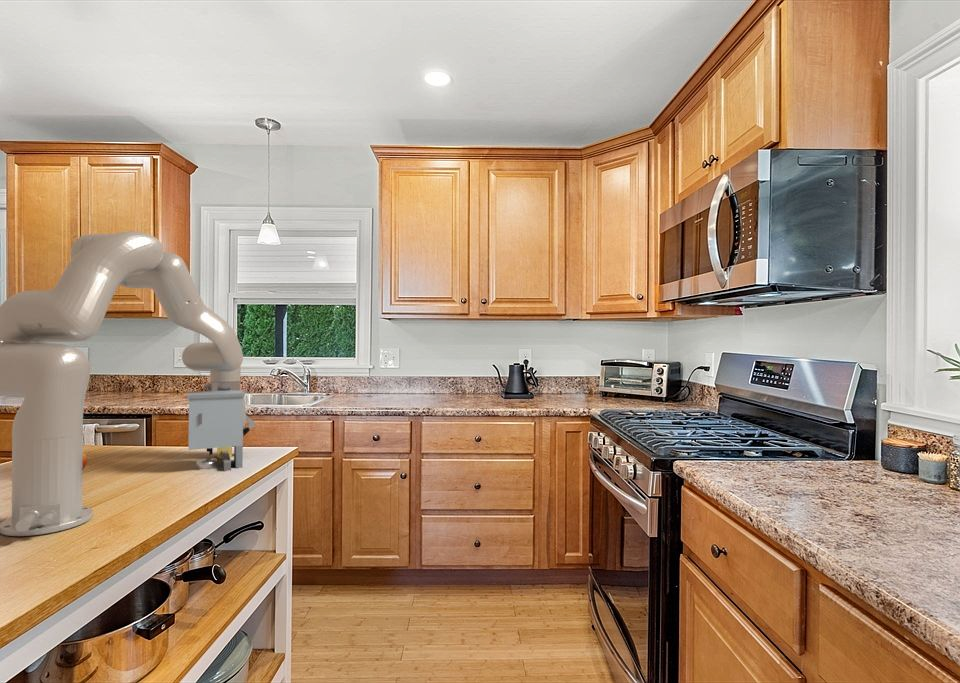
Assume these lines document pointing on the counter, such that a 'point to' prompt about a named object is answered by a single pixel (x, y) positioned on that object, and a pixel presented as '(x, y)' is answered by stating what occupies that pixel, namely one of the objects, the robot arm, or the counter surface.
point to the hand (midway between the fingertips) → (224, 452)
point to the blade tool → (225, 456)
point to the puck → (206, 463)
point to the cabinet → (217, 421)
